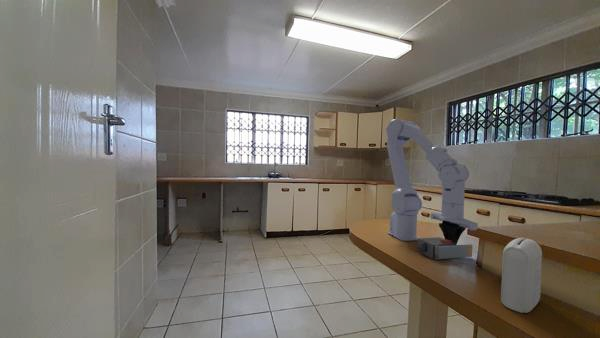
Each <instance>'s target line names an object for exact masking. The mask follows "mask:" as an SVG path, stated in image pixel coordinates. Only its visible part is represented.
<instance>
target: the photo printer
mask: <svg viewBox="0 0 600 338" xmlns="http://www.w3.org/2000/svg"><path fill="white" fill-rule="evenodd" d="M542 261H543V251H542V248H541V246H540V244H538V242H536V241H535V240H533V239H531V238H525V237H518V238H515V239H513V240H511V241H509V242H508V244H506V246H505V247H504V249H503V251H502V269H501V289H500V294H501V295H500V299H501V300H500V302H501V304H503V305H504V307H506V308H508V309H510V310H512V311H514V312H517V313H521V314H523V313H526V314H527V313H530V312H531V311H532V310H533V309H534V308H535V307H536V306H537V305H538V303H539V302H540V300H541V289H542V287H541V285H542V284H541V283H542Z"/></svg>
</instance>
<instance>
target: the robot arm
mask: <svg viewBox="0 0 600 338" xmlns="http://www.w3.org/2000/svg"><path fill="white" fill-rule="evenodd" d="M385 130H386V135H387V137H386V138H387V140H386V141H387V142H386V148H387V153H388V159H389V163H390V167H391V173H392V178H393V181H394V186H395V189H394V190H393V192H391V207H392V209H393V212H391V215H390V218H389V232H388V231H387V234H388V233H389V234H388V235H390V234H391V236H392V235H393V237H395V238H396V239H398V240H400V241H403V242H406V241H407V242H408V241H418V238H420V237H419V236H417V233H418V232H417V229H418V228H417V227H418V214H419V211H420V210H421V209H422V207H423V203H422V199H421V198H420V196H419V195H418V191H417V190H416V189H415V188H414V187H413V186H412V184H411V177H410V174H409V170H408V166H407V161H406V156H405V152H404V148H403V147H404V146H405V145H406V144H407V143H408V142H409V141H410V140H412V141H413V142H414V143H415V144H416V145H418V146H419V148H421V149H422V150H423V152H425V159H426V160H427V162H429V163H430V164H431V165H432V167H433V168H434V169H435V171H437V172H438V173H437V175H438V178H439V180H440V181H441V188H442V189H441V190H442V191H441V213H438V212H431V213H430V219H432V220H436V221H441V222H438V227H439V228H440V230H441V231H442V235H443V237H444V238H443V239H448V240H451V241H452V242H453V243H456V245H458V242H459V239H460V238H461V236H462V234H463V233H464V232H465V230H467V229H468V228H469V227H471V228H469V229H468V230H470V231H478V230H477V229H478V227H479V226H478V225H479V223H478V222H474V221H472V220H469V219H467V218H464V216H465V215H464V214H465V213H464V212H465V191H466V190H465V187H466V186H465V184H466V183H465V182H466V181H467V180H468V179H469V177H470V171H469V169H468V168H467V166H466V165H464V164H460V163H458V162H459V161H458V159H455V158H453V157H452V156H451V155H450V154H449V153H448V149H447V148H446V147H442V146H436V145H435V144H434V143H433V142H432V141H431V139H429V137H428V136H427V135H426V134H425V133H424V131H423V130H422V129H421V127H420V126H419V125H417V123H416V122H414V121H410V120H409V121H408V120H405V119H399V118H393V119H392V120H390V121H389V123H388V125H387V126H386V128H385Z"/></svg>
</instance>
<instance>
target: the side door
mask: <svg viewBox="0 0 600 338" xmlns="http://www.w3.org/2000/svg"><path fill="white" fill-rule="evenodd" d="M472 257H473V244H457V245H451V246H437V245H436V246H435V259H434V260H436V261H439V260H444V259H445V260H447V259H457V258H459V259H460V258H472Z"/></svg>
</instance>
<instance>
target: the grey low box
mask: <svg viewBox="0 0 600 338" xmlns="http://www.w3.org/2000/svg"><path fill="white" fill-rule="evenodd" d="M416 245H417V246H416V247H417V249H416V251H417V252H418V253H420V254H422V255H424V256H425V257H427V258H430V259H432V260H435V246H436V245H437V246H451V245H456V243H453V242H452V241H451V240H448V239H445V238H442V237H439V236H438V237H437V236H436V237H419V238H418V240H417V244H416Z"/></svg>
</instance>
